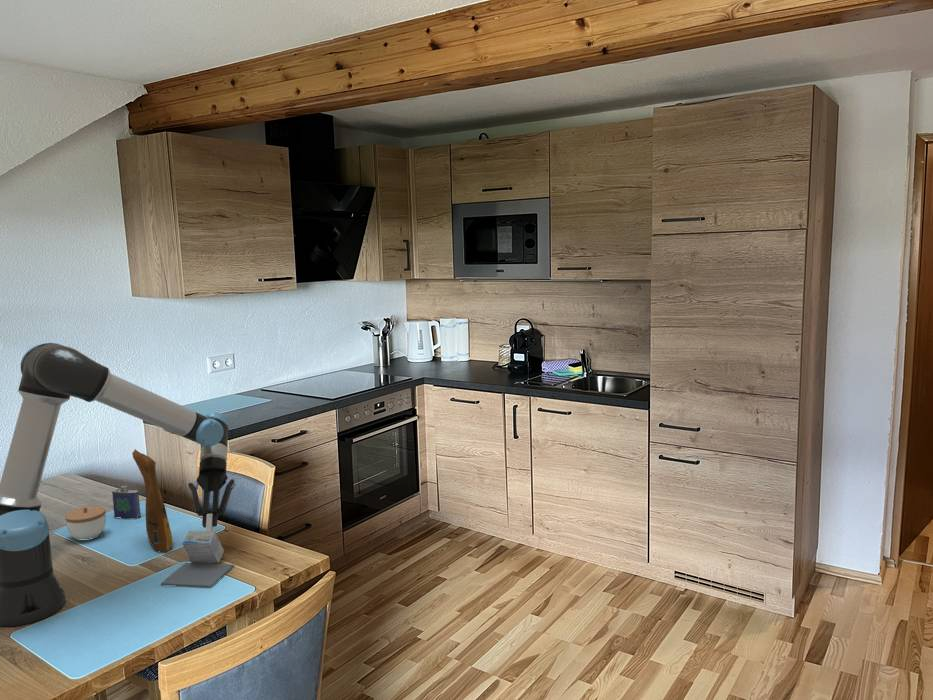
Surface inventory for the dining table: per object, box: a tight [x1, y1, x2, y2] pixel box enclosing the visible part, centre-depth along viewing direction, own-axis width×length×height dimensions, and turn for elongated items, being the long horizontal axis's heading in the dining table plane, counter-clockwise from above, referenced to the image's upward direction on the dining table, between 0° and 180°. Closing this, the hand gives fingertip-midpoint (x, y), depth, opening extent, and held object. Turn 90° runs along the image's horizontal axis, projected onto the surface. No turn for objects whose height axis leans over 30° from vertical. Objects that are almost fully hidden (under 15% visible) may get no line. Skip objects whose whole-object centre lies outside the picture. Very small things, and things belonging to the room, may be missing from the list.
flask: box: [111, 484, 142, 519], centre depth 226 cm, size 9×3×11 cm, turn 79°
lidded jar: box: [64, 505, 107, 540], centre depth 211 cm, size 11×11×9 cm
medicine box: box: [182, 530, 225, 564], centre depth 190 cm, size 8×4×9 cm, turn 84°
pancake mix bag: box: [132, 448, 173, 553], centre depth 203 cm, size 7×19×28 cm, turn 34°
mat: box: [160, 561, 235, 588], centre depth 183 cm, size 12×14×1 cm
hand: (209, 537), depth 192 cm, fingers closed
